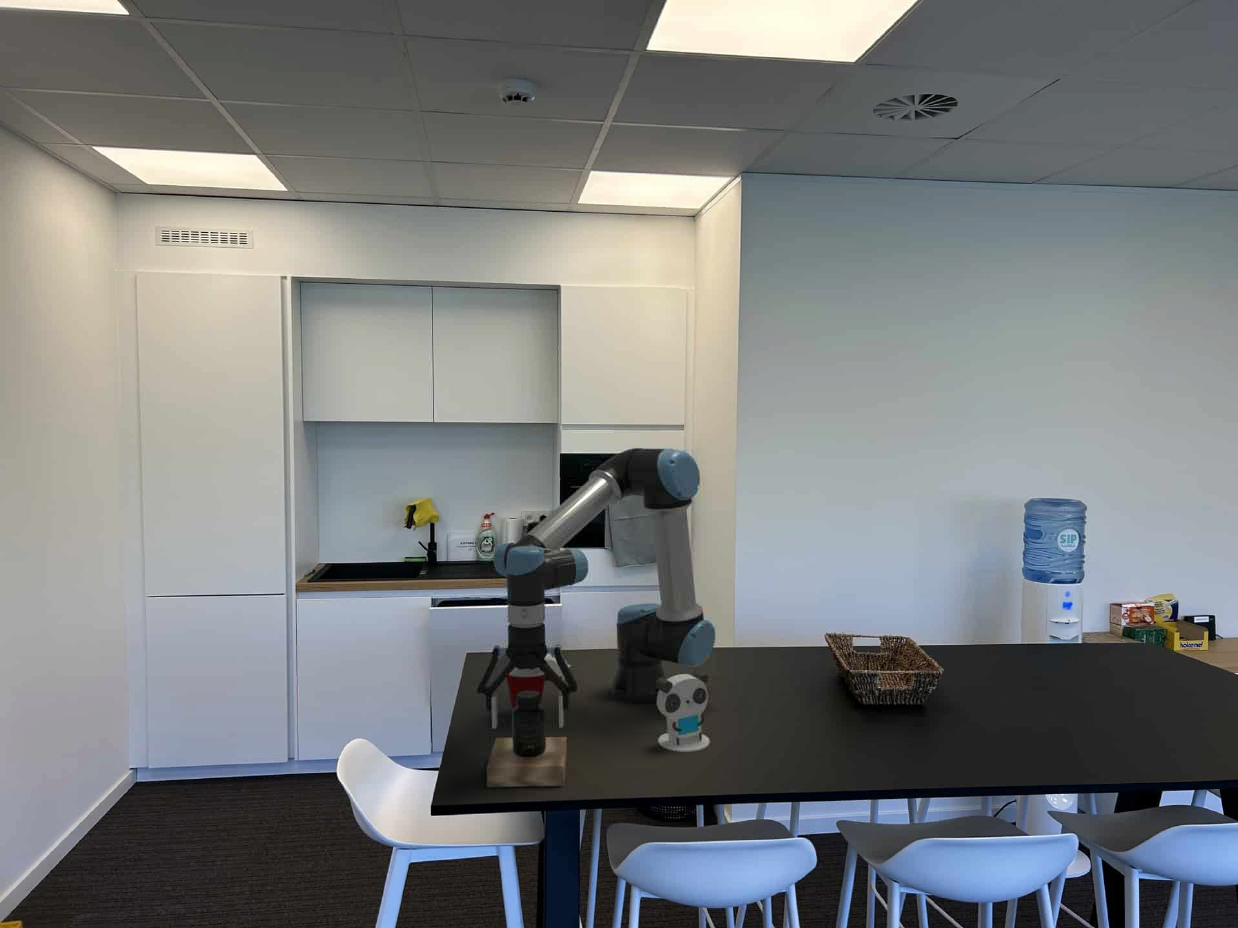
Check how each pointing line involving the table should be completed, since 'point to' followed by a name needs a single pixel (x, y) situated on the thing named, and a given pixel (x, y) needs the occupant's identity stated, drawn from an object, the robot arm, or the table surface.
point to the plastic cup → (525, 682)
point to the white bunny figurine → (554, 665)
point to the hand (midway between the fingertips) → (528, 725)
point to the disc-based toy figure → (683, 711)
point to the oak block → (527, 765)
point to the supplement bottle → (528, 725)
